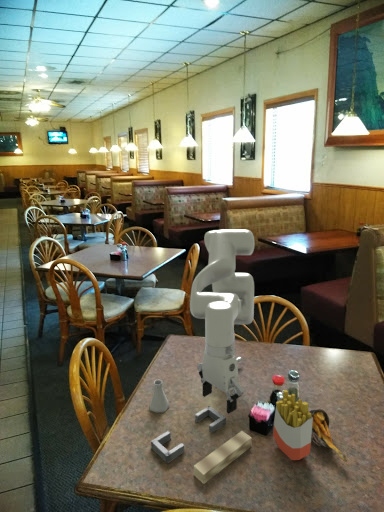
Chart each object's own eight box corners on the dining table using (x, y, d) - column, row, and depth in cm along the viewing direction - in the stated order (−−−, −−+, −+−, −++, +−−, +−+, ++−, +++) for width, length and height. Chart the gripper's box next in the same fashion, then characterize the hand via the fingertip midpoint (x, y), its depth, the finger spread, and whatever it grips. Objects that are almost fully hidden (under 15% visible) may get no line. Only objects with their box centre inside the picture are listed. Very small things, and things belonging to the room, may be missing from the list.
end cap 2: (211, 433, 118) (211, 426, 117) (195, 420, 124) (195, 414, 123) (225, 423, 122) (226, 417, 121) (209, 411, 128) (209, 405, 127)
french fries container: (298, 467, 105) (302, 413, 100) (271, 442, 114) (274, 392, 109) (309, 460, 107) (313, 407, 102) (282, 437, 116) (285, 387, 111)
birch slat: (241, 440, 116) (241, 430, 115) (251, 447, 113) (251, 437, 112) (193, 476, 103) (193, 465, 102) (203, 485, 100) (203, 474, 99)
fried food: (317, 405, 123) (364, 422, 107) (313, 441, 121) (360, 463, 105) (296, 403, 119) (342, 419, 103) (292, 439, 117) (337, 462, 101)
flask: (166, 414, 127) (165, 389, 124) (146, 412, 128) (144, 387, 126) (171, 401, 134) (170, 377, 131) (152, 399, 135) (151, 375, 133)
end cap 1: (168, 437, 117) (168, 430, 116) (184, 451, 111) (184, 445, 110) (151, 447, 113) (150, 441, 112) (167, 463, 107) (166, 456, 106)
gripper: (253, 354, 95) (251, 412, 99) (207, 332, 108) (208, 383, 112) (233, 365, 90) (232, 424, 94) (188, 340, 103) (189, 393, 107)
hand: (219, 402), depth 103 cm, fingers open, 9 cm apart
